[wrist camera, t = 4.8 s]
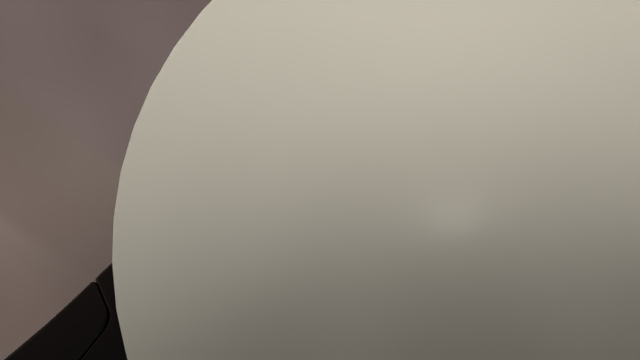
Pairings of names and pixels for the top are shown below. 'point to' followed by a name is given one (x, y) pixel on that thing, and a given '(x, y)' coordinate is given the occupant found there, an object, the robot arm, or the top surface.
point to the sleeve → (387, 184)
